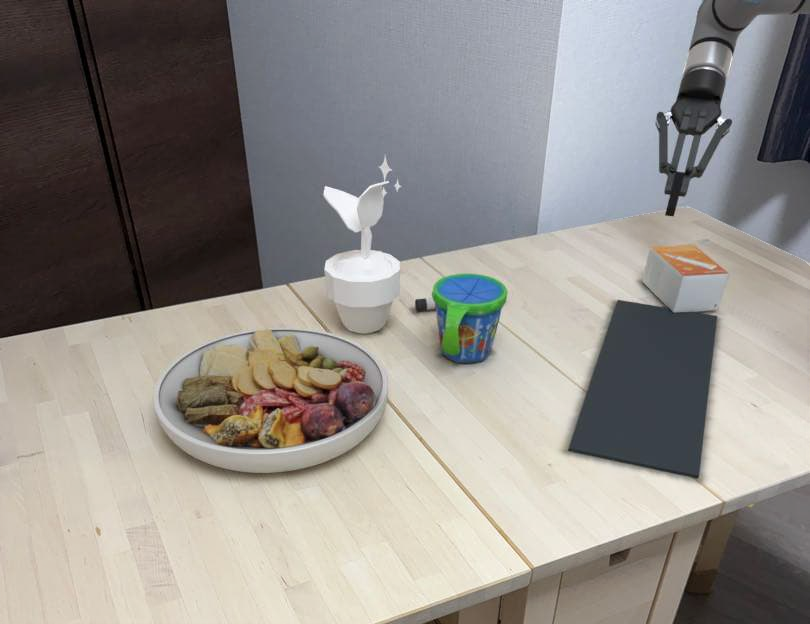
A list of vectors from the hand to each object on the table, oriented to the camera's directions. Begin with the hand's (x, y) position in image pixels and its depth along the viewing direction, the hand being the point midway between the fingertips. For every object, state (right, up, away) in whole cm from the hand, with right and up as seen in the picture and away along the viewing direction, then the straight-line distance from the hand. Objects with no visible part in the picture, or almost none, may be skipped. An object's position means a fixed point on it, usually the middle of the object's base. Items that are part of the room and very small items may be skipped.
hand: (670, 212), depth 130 cm
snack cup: (-37, -29, -17) cm, 50 cm away
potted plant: (-53, -23, -11) cm, 59 cm away
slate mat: (-11, -34, -22) cm, 42 cm away
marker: (-37, -19, -7) cm, 42 cm away
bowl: (-64, -41, -30) cm, 81 cm away
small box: (-1, -9, -1) cm, 9 cm away
